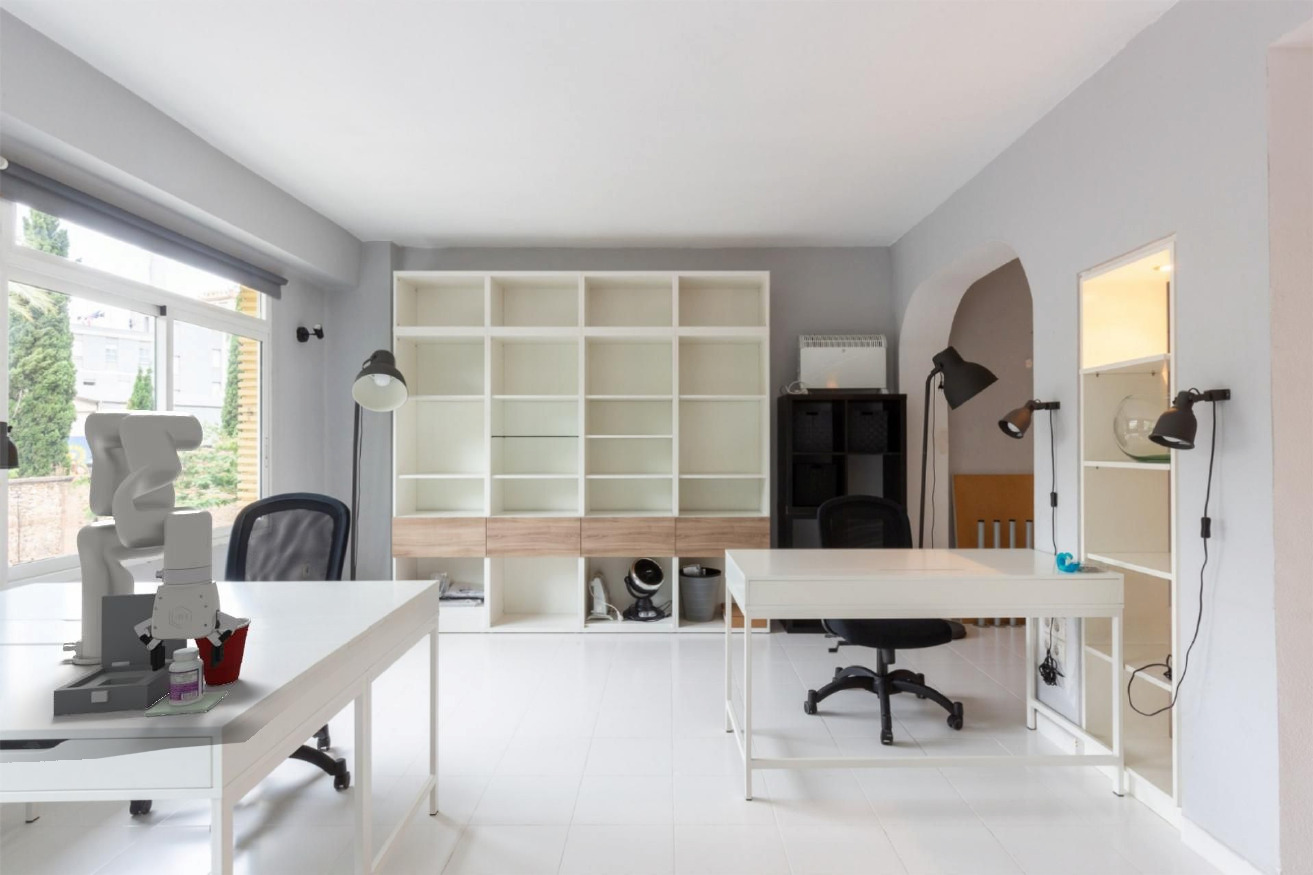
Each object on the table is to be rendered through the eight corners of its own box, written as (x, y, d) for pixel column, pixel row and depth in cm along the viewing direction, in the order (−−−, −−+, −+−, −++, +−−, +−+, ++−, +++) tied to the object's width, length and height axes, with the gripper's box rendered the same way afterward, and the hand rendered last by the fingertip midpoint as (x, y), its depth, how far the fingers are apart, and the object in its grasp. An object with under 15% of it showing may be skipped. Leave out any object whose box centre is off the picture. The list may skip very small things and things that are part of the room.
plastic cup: (197, 676, 142) (197, 619, 143) (256, 670, 146) (256, 614, 147) (182, 694, 132) (182, 632, 132) (245, 686, 136) (245, 627, 136)
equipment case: (51, 717, 121) (52, 613, 121) (104, 687, 136) (104, 595, 137) (145, 710, 124) (145, 609, 124) (186, 681, 139) (187, 591, 140)
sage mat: (144, 716, 121) (144, 713, 121) (170, 698, 130) (170, 695, 130) (206, 712, 123) (206, 708, 123) (227, 694, 132) (227, 691, 132)
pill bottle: (179, 697, 129) (179, 646, 129) (209, 695, 129) (209, 645, 130) (162, 707, 124) (162, 655, 124) (193, 706, 124) (193, 653, 124)
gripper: (124, 581, 121) (123, 677, 121) (230, 577, 125) (229, 670, 125) (147, 574, 129) (146, 664, 129) (246, 570, 132) (246, 658, 132)
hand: (187, 667), depth 127 cm, fingers open, 9 cm apart
